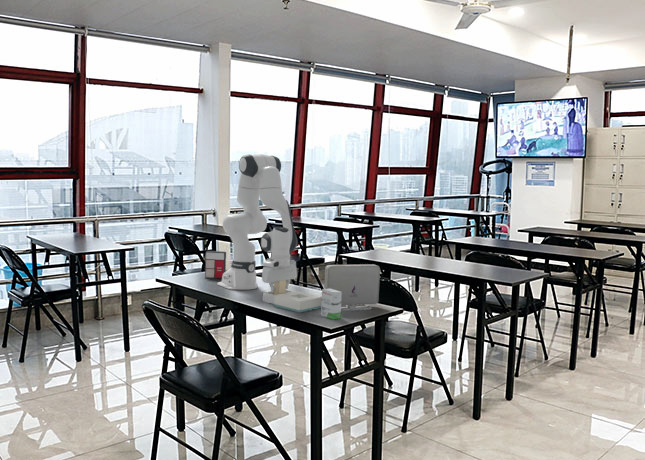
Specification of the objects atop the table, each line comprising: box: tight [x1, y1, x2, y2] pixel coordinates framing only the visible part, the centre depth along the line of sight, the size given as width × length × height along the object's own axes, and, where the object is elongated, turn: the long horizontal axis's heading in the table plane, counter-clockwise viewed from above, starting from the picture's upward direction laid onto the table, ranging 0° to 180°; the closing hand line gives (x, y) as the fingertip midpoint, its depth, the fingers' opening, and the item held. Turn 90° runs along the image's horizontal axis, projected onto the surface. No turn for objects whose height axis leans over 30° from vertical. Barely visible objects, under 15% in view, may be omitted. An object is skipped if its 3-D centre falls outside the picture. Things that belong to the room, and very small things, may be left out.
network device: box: [323, 263, 381, 312], centre depth 274 cm, size 26×9×20 cm, turn 108°
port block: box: [273, 290, 322, 313], centre depth 273 cm, size 16×16×5 cm
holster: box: [262, 289, 295, 305], centre depth 284 cm, size 8×14×4 cm, turn 138°
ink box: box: [320, 288, 342, 320], centre depth 256 cm, size 9×5×12 cm, turn 37°
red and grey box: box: [204, 250, 227, 280], centre depth 335 cm, size 11×4×15 cm, turn 88°
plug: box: [273, 280, 287, 295], centre depth 284 cm, size 4×4×10 cm
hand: (279, 289), depth 284 cm, fingers open, 7 cm apart
